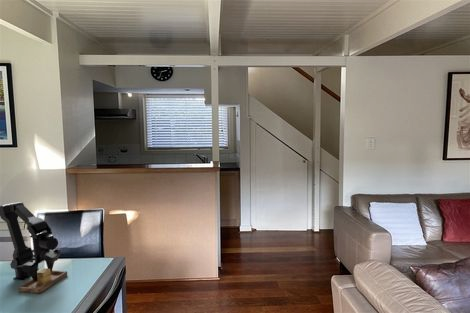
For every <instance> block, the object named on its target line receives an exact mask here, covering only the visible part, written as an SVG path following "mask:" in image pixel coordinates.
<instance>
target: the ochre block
mask: <svg viewBox="0 0 470 313" xmlns="http://www.w3.org/2000/svg"><path fill="white" fill-rule="evenodd" d="M49 281H51V272H50V269H48V268H46V267H45V268H43V267H42V268H41V269H39V270H38V271H37V282H36V283H37V284H42V285H45V284H46V283H48V282H49Z"/></svg>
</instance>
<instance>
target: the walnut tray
mask: <svg viewBox="0 0 470 313" xmlns="http://www.w3.org/2000/svg"><path fill="white" fill-rule="evenodd" d="M67 276H68V271H67V270H53V269H52V272H51V281H49V282H48V283H46V284H45V285H42V284H37V283H36V281H34V280H33V278H31V279H30V280H28V281H27V282H25V283H23V284H21V285H20V286H18V287H17V290H18V293H21V294H32V295H33V294H34V295H35V294H36V295H41V294H43V293H45V292H46V291H48V290H49V289H50V288H52V287H53V286H55V285H56V284H57V283H59V282H60V281H61V280H63V279H65V278H66V277H67Z"/></svg>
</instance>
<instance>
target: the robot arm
mask: <svg viewBox="0 0 470 313" xmlns="http://www.w3.org/2000/svg"><path fill="white" fill-rule="evenodd" d="M0 218H1V220H3V221H4V222H5V223H6V226H7V229H8V232H9V235H10V238H11V241H12V245H13V249H14V250H13V253H12V260H11V262H10V263H9V266H10V268H11V269H12V270H14V272H15V273H14V274H15V277H13V280H17V281H18V280H19V281H24V280H26V279H27V278H30V277H31V279H33V280H34V281H36V282H37V271H39V270H40V269H39V264H41V263H43V262H45V263H46V267H47V268H46V269H50V272H52V270H53V267H54V266H55V265H54V264H55V262H57V261H58V260H59V257H60V256H61V249H60V248H58V245H59V241H58V238H56V237H54V235H53V232H52V228H51V227H50V226H49V224H48V222H46V220H45V219H43V218H42V217H37V216H35V214H34V213H32V212H31V211H30V210H29V209H28V208H27V207H26V205H25V204H24V202H23V201H18V202H12V203H6V204H3V205H0ZM18 218H20V219H21V220H22V221H23V222H24V223H25V225H26V230H27V231H28V233H29V234H30V235H29V237H30V238H31V239H32V248H31V247H29V246H27V245H26V242H25V239H24V236H23V232H22V230H21V227H20V222H19V220H18Z"/></svg>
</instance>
